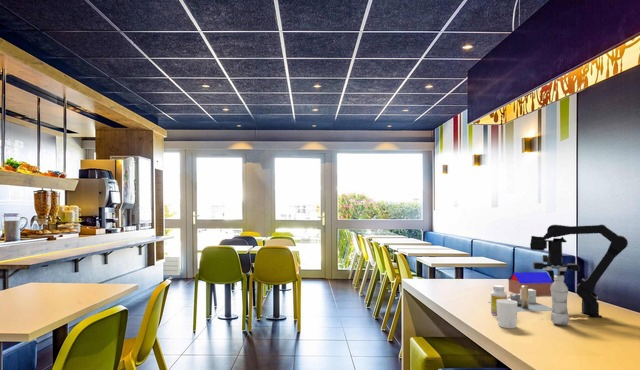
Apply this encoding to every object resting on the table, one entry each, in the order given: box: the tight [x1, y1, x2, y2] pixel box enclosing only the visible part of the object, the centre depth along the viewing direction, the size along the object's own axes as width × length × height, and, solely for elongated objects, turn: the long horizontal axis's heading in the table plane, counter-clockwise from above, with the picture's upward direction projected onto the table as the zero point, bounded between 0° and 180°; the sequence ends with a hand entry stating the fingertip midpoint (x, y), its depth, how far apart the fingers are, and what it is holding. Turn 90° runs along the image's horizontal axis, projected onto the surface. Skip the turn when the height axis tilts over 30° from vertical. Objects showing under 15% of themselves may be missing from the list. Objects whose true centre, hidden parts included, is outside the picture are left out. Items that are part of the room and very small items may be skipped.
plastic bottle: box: [550, 274, 570, 326], centre depth 176 cm, size 6×7×20 cm
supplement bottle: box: [490, 284, 508, 317], centre depth 191 cm, size 7×7×13 cm
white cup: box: [496, 299, 518, 329], centre depth 174 cm, size 8×8×10 cm
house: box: [507, 271, 552, 296], centre depth 243 cm, size 12×20×12 cm, turn 97°
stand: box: [488, 289, 552, 313], centre depth 205 cm, size 20×24×7 cm
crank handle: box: [507, 285, 529, 308], centre depth 206 cm, size 15×9×10 cm, turn 6°
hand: (555, 285), depth 200 cm, fingers closed
